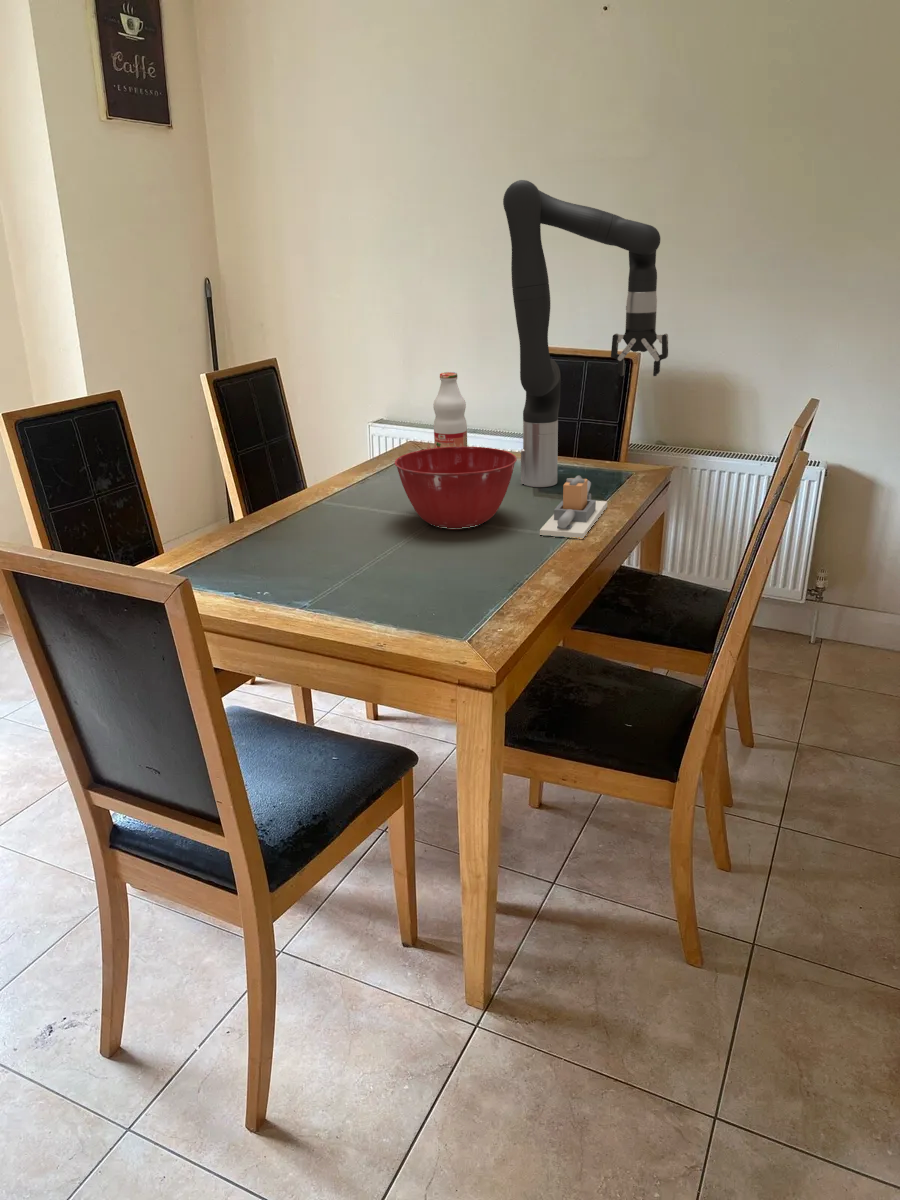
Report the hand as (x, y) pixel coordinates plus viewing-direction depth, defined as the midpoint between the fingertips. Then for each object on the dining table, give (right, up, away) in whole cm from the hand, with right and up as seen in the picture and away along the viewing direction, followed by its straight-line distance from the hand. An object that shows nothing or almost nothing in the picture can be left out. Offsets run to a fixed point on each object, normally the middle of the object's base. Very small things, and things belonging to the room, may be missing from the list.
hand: (638, 375), depth 234 cm
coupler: (-19, -38, -21) cm, 48 cm away
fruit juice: (-48, -21, +27) cm, 59 cm away
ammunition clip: (-50, -27, +12) cm, 58 cm away
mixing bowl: (-47, -40, -17) cm, 64 cm away
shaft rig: (-19, -40, -21) cm, 49 cm away
